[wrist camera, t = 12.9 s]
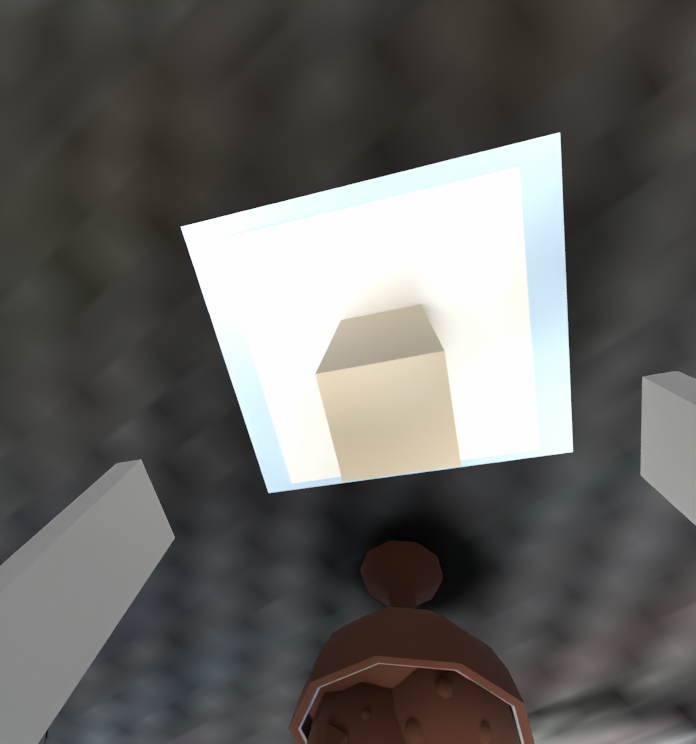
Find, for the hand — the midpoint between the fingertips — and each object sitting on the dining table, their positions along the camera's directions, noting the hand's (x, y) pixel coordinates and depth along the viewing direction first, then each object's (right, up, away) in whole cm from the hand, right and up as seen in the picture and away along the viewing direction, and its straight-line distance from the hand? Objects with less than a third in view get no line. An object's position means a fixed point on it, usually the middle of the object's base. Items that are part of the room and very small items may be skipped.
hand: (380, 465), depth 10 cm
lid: (+1, +4, +10) cm, 11 cm away
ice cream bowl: (+3, -11, +16) cm, 20 cm away
